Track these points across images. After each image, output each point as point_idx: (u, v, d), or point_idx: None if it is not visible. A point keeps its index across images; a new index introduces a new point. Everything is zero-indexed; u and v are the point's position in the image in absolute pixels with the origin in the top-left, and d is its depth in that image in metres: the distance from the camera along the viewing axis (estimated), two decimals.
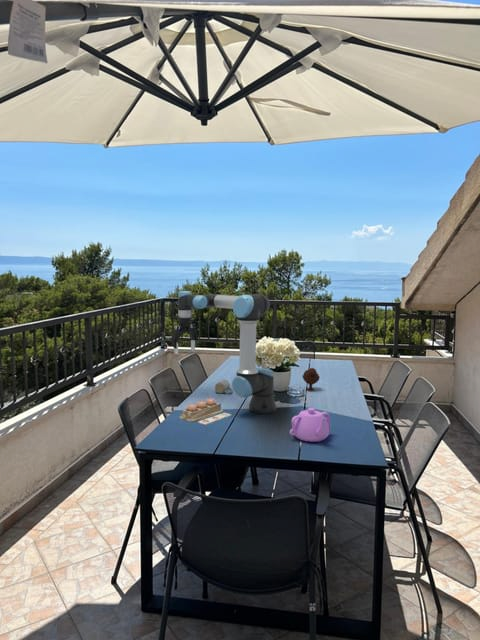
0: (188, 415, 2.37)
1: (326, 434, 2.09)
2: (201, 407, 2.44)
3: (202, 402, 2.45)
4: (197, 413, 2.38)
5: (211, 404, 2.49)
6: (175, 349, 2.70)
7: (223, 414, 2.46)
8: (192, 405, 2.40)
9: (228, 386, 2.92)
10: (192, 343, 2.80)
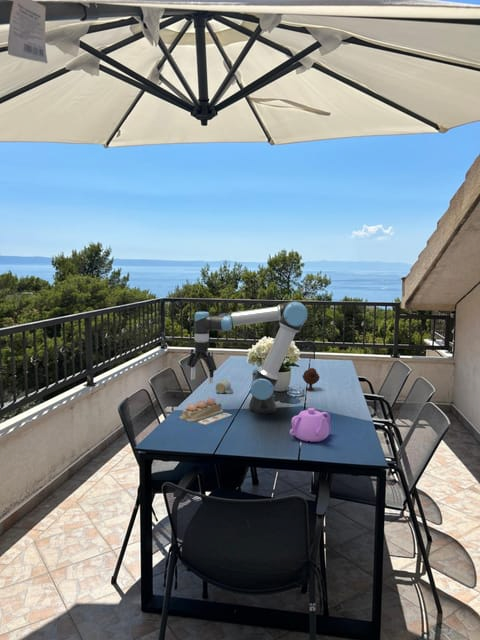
0: (188, 415, 2.37)
1: (326, 434, 2.09)
2: (201, 407, 2.44)
3: (202, 402, 2.45)
4: (197, 413, 2.38)
5: (211, 404, 2.49)
6: None
7: (223, 414, 2.46)
8: (192, 405, 2.40)
9: (229, 386, 2.92)
10: None
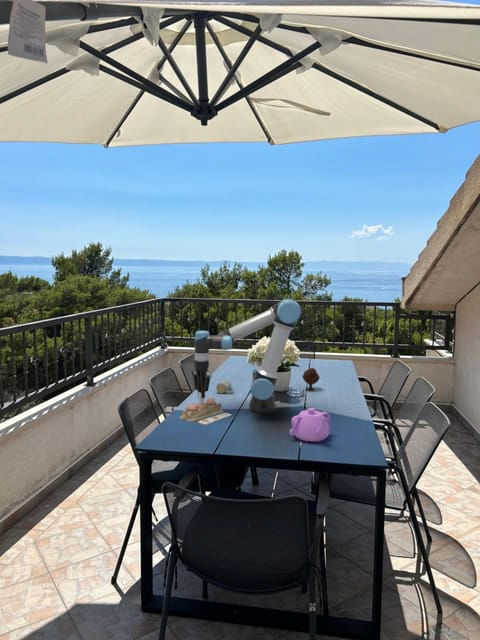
0: (188, 415, 2.37)
1: (326, 434, 2.09)
2: None
3: (202, 404, 2.45)
4: (197, 413, 2.38)
5: (211, 404, 2.49)
6: None
7: (223, 414, 2.46)
8: (192, 405, 2.40)
9: (229, 386, 2.92)
10: None
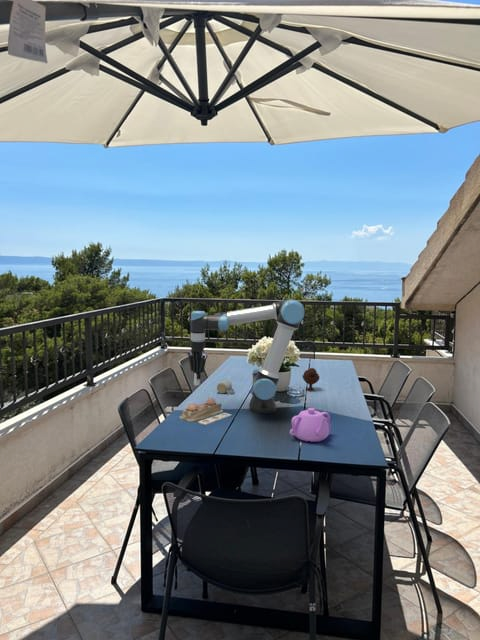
0: (188, 415, 2.37)
1: (326, 434, 2.09)
2: None
3: (202, 405, 2.45)
4: (197, 413, 2.38)
5: (211, 404, 2.49)
6: None
7: (223, 414, 2.46)
8: (192, 405, 2.40)
9: (230, 386, 2.91)
10: None
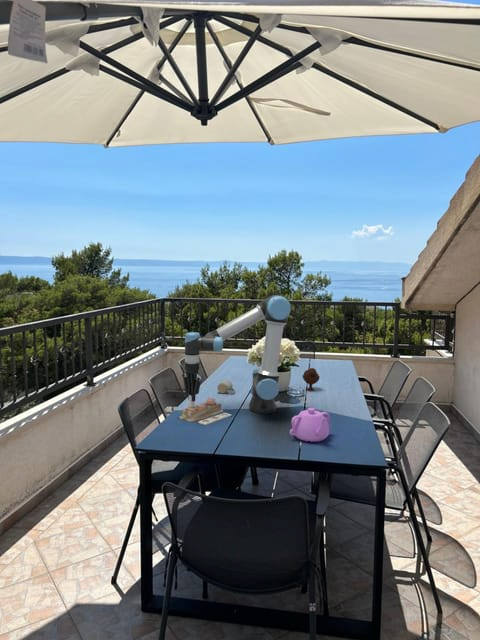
0: (188, 415, 2.37)
1: (326, 434, 2.09)
2: None
3: (202, 405, 2.45)
4: (197, 413, 2.38)
5: (211, 404, 2.49)
6: None
7: (223, 414, 2.46)
8: (192, 407, 2.40)
9: (231, 386, 2.91)
10: None
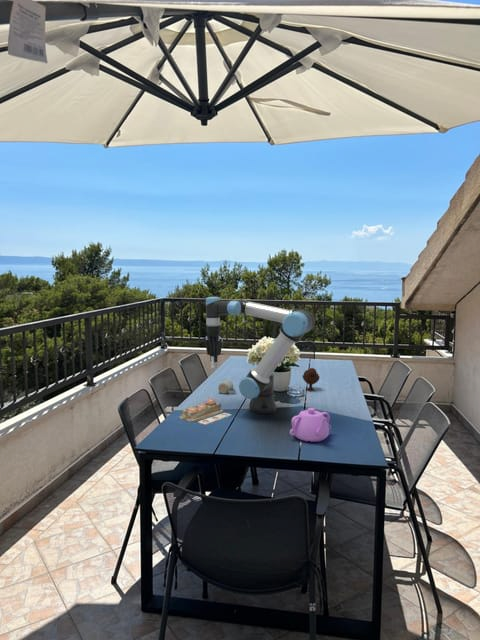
0: (188, 415, 2.37)
1: (326, 434, 2.09)
2: None
3: (202, 405, 2.45)
4: (197, 413, 2.38)
5: (211, 404, 2.49)
6: None
7: (223, 414, 2.46)
8: (192, 408, 2.40)
9: (231, 386, 2.91)
10: None
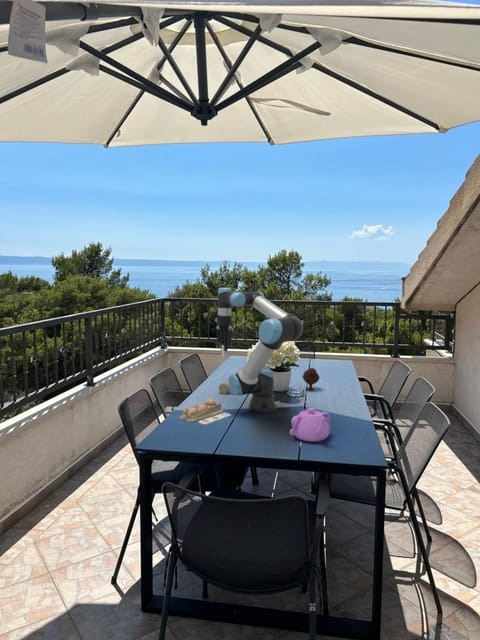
0: (188, 415, 2.37)
1: (326, 434, 2.09)
2: None
3: (202, 405, 2.45)
4: (197, 413, 2.38)
5: (211, 404, 2.49)
6: None
7: (223, 414, 2.46)
8: (192, 408, 2.40)
9: None
10: None
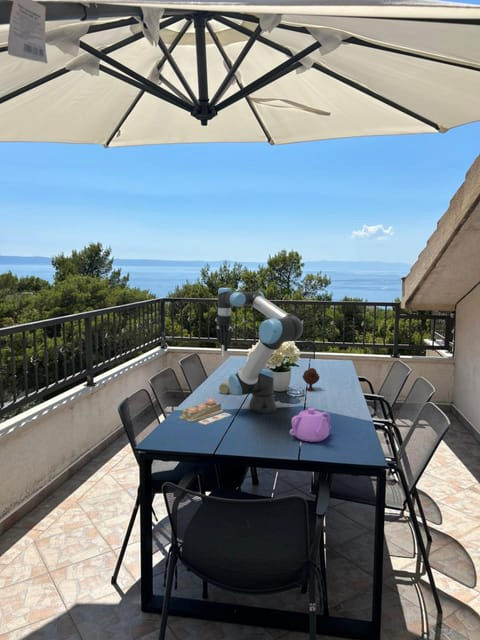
0: (188, 415, 2.37)
1: (326, 434, 2.09)
2: None
3: (202, 405, 2.45)
4: (197, 413, 2.38)
5: (211, 404, 2.49)
6: None
7: (223, 414, 2.46)
8: (192, 408, 2.40)
9: None
10: None
